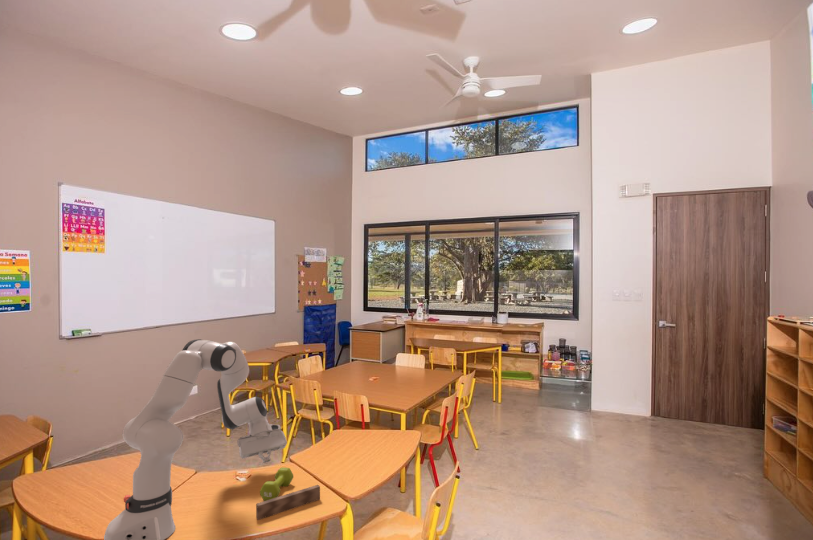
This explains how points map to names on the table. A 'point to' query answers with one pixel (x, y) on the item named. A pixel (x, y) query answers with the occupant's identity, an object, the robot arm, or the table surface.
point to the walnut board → (287, 502)
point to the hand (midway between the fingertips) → (266, 461)
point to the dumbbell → (276, 484)
